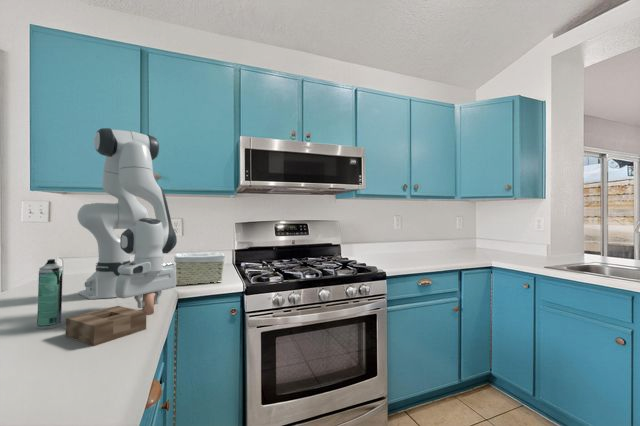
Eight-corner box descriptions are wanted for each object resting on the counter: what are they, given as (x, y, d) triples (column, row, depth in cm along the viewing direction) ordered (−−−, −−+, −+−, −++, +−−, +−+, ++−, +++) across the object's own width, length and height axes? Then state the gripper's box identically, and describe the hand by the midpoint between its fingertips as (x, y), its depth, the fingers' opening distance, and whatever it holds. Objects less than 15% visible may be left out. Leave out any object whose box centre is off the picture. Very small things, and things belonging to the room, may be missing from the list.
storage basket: (221, 278, 174) (222, 251, 175) (225, 283, 160) (225, 254, 160) (174, 281, 165) (174, 252, 165) (173, 287, 150) (174, 256, 150)
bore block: (65, 336, 86) (66, 317, 86) (117, 321, 99) (118, 305, 99) (93, 345, 80) (94, 326, 80) (146, 329, 92) (146, 312, 92)
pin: (139, 314, 107) (140, 293, 107) (149, 311, 110) (149, 291, 110) (146, 315, 105) (146, 294, 105) (155, 312, 108) (156, 292, 108)
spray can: (65, 322, 97) (67, 258, 98) (51, 329, 92) (53, 260, 92) (47, 322, 97) (49, 258, 97) (31, 329, 91) (34, 260, 92)
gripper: (169, 261, 118) (168, 298, 118) (113, 268, 100) (112, 312, 100) (180, 262, 116) (180, 300, 115) (124, 270, 97) (123, 314, 97)
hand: (148, 305), depth 107 cm, fingers closed on pin, 3 cm apart
